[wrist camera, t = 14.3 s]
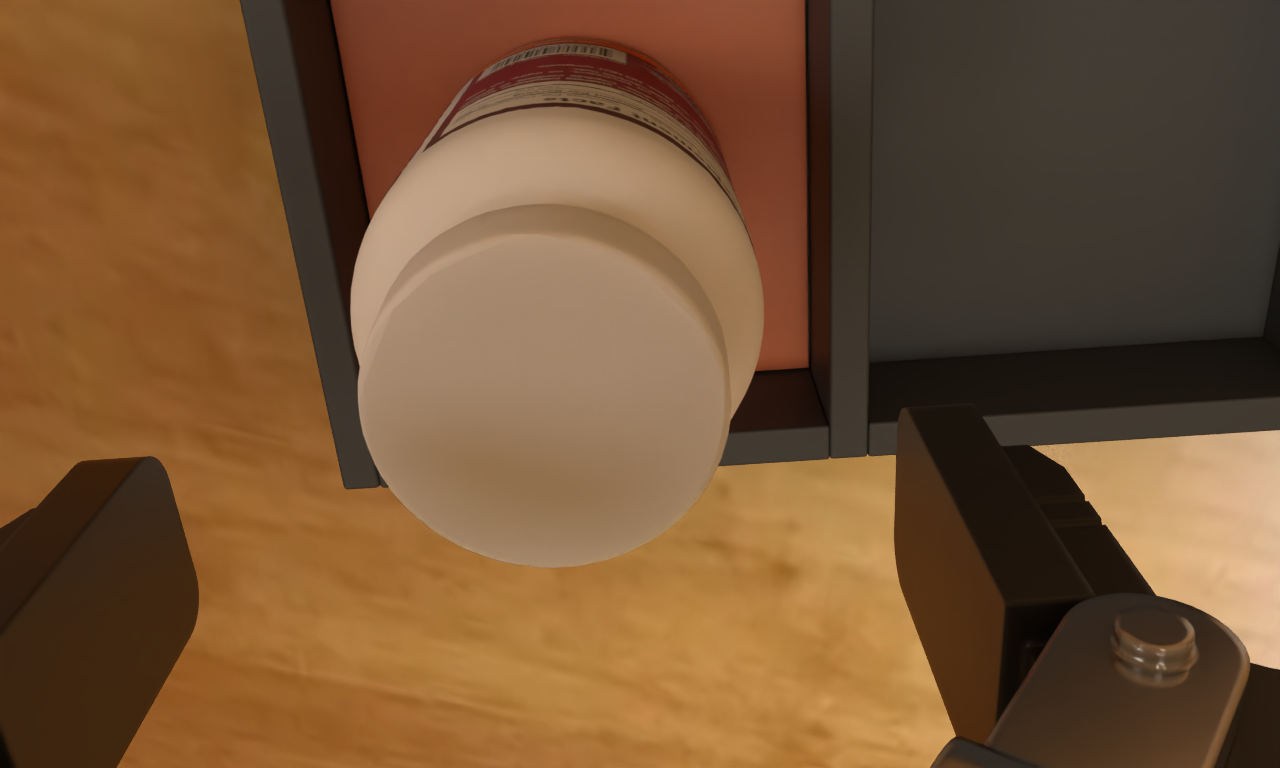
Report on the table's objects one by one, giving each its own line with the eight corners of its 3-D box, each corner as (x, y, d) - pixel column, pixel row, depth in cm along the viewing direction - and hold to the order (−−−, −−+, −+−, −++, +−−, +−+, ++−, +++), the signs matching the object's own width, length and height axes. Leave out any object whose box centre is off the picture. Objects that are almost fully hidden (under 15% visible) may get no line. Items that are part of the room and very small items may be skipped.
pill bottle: (588, 370, 26) (557, 697, 16) (373, 187, 24) (186, 428, 14) (786, 176, 24) (895, 409, 14) (569, -38, 22) (515, 54, 12)
